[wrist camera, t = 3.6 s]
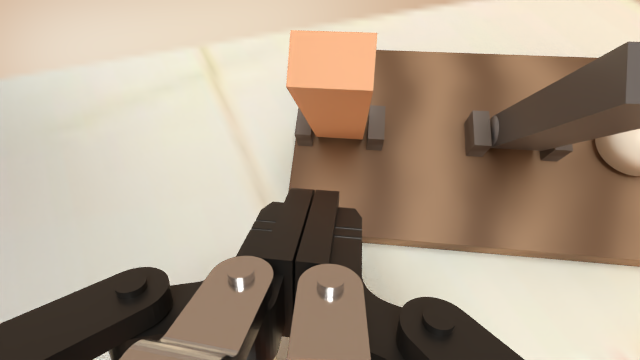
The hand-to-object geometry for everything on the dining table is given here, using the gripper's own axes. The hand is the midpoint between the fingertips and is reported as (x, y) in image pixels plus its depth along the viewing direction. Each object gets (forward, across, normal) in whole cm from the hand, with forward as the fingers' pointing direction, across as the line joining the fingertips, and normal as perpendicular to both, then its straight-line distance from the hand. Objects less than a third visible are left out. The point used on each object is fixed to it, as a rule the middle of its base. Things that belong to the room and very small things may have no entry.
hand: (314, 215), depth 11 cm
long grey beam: (+12, -11, 0) cm, 17 cm away
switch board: (+15, -9, +3) cm, 18 cm away
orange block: (+12, 0, 0) cm, 13 cm away
